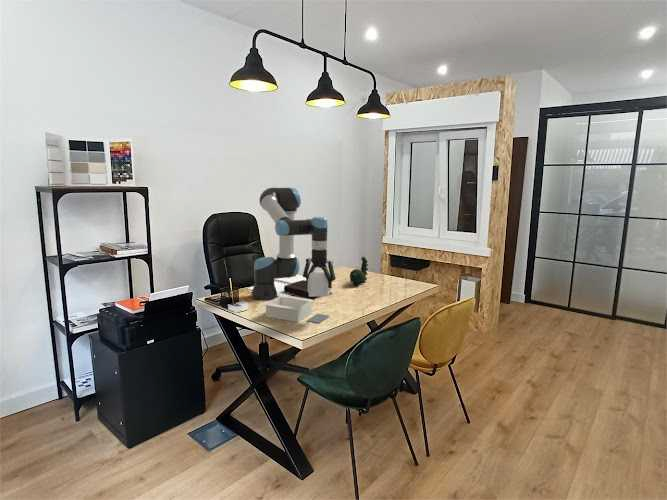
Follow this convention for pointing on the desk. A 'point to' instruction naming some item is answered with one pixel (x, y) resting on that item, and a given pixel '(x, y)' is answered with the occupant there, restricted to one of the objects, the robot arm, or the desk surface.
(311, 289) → the photo printer
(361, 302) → the desk surface
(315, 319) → the mat
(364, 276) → the toy figurine
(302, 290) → the diary
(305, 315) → the carton
